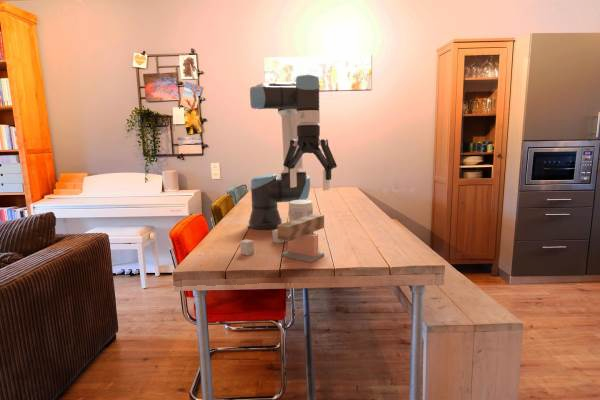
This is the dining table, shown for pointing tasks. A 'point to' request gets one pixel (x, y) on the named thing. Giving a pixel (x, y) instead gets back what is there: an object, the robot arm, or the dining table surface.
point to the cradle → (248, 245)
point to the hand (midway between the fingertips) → (309, 188)
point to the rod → (300, 227)
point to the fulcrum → (304, 248)
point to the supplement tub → (300, 209)
